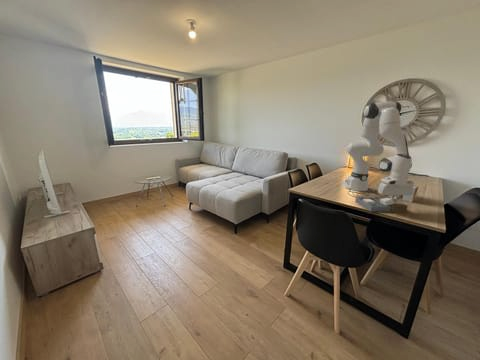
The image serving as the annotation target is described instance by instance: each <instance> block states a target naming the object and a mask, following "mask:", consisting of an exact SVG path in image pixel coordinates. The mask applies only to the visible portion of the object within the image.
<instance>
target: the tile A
mask: <svg viewBox="0 0 480 360" xmlns="http://www.w3.org/2000/svg"><path fill="white" fill-rule="evenodd" d="M363 201H364V202H366V203H368V204H369V205H374V204H375V201H373V200H371V199H363Z"/></svg>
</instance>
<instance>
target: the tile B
mask: <svg viewBox="0 0 480 360" xmlns="http://www.w3.org/2000/svg"><path fill="white" fill-rule="evenodd" d="M380 203H382V204H384V205H386V206H387V205H392V204H394V200H392V199H390V198H383V199H380Z"/></svg>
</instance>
